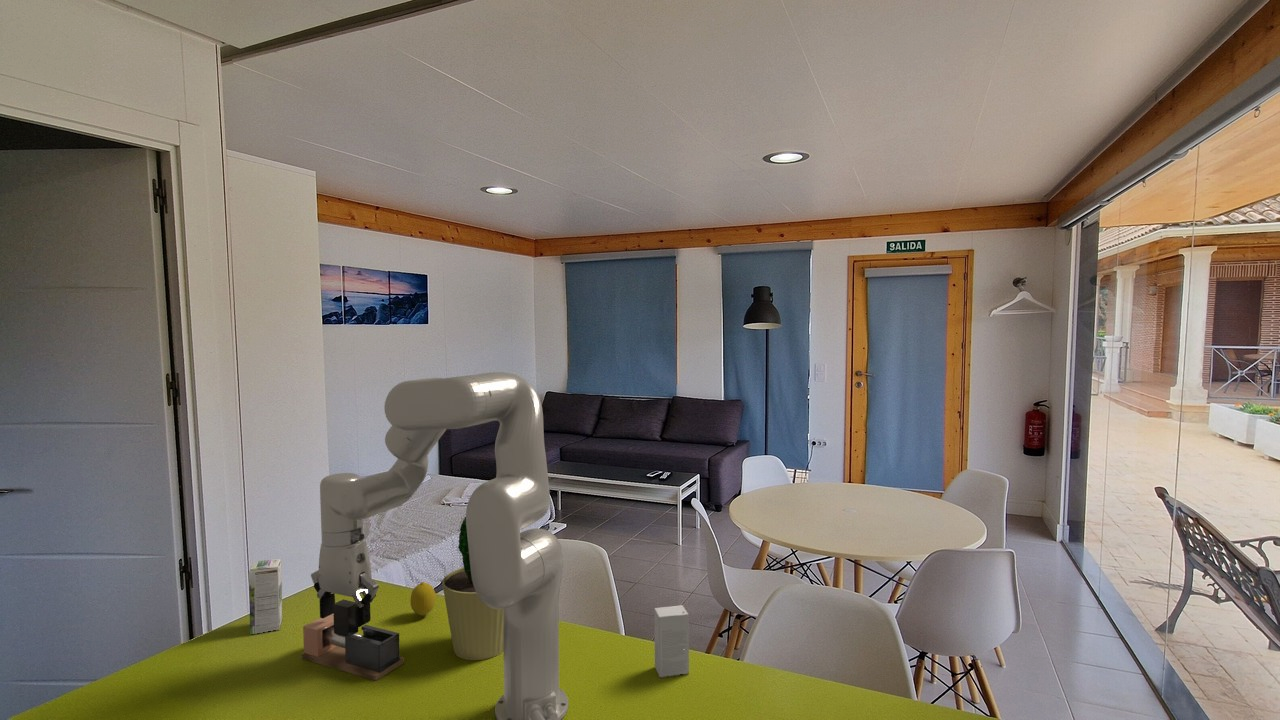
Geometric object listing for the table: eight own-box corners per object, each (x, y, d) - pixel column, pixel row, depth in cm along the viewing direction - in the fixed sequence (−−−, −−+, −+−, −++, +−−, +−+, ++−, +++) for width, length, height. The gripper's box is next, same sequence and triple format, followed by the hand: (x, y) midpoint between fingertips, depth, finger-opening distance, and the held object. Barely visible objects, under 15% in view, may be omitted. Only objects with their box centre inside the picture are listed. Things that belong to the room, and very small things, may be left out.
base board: (403, 662, 125) (403, 657, 125) (376, 680, 118) (376, 675, 118) (331, 642, 133) (331, 638, 133) (301, 658, 126) (301, 653, 126)
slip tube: (366, 647, 126) (365, 603, 126) (354, 654, 123) (352, 609, 123) (326, 636, 130) (325, 594, 130) (313, 643, 128) (312, 600, 127)
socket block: (342, 642, 131) (342, 617, 130) (318, 656, 125) (317, 630, 125) (329, 639, 132) (328, 613, 132) (303, 652, 127) (303, 626, 126)
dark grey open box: (399, 660, 124) (399, 633, 124) (380, 673, 119) (379, 644, 119) (365, 650, 127) (365, 624, 127) (345, 663, 123) (344, 635, 123)
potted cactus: (475, 674, 120) (473, 521, 119) (427, 650, 130) (425, 507, 128) (534, 642, 133) (532, 503, 131) (487, 622, 142) (485, 491, 140)
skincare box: (683, 663, 125) (683, 604, 124) (689, 674, 121) (689, 614, 120) (653, 666, 123) (653, 607, 123) (658, 678, 119) (658, 617, 119)
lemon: (428, 622, 142) (427, 588, 141) (405, 620, 143) (405, 586, 142) (440, 611, 147) (439, 578, 147) (419, 609, 148) (418, 576, 148)
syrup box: (253, 624, 141) (251, 561, 140) (283, 619, 143) (281, 557, 143) (249, 635, 136) (247, 570, 135) (281, 630, 138) (279, 566, 138)
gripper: (389, 535, 125) (392, 619, 126) (327, 525, 132) (330, 605, 133) (359, 547, 118) (362, 636, 119) (295, 536, 125) (298, 620, 126)
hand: (345, 619), depth 126 cm, fingers open, 9 cm apart
